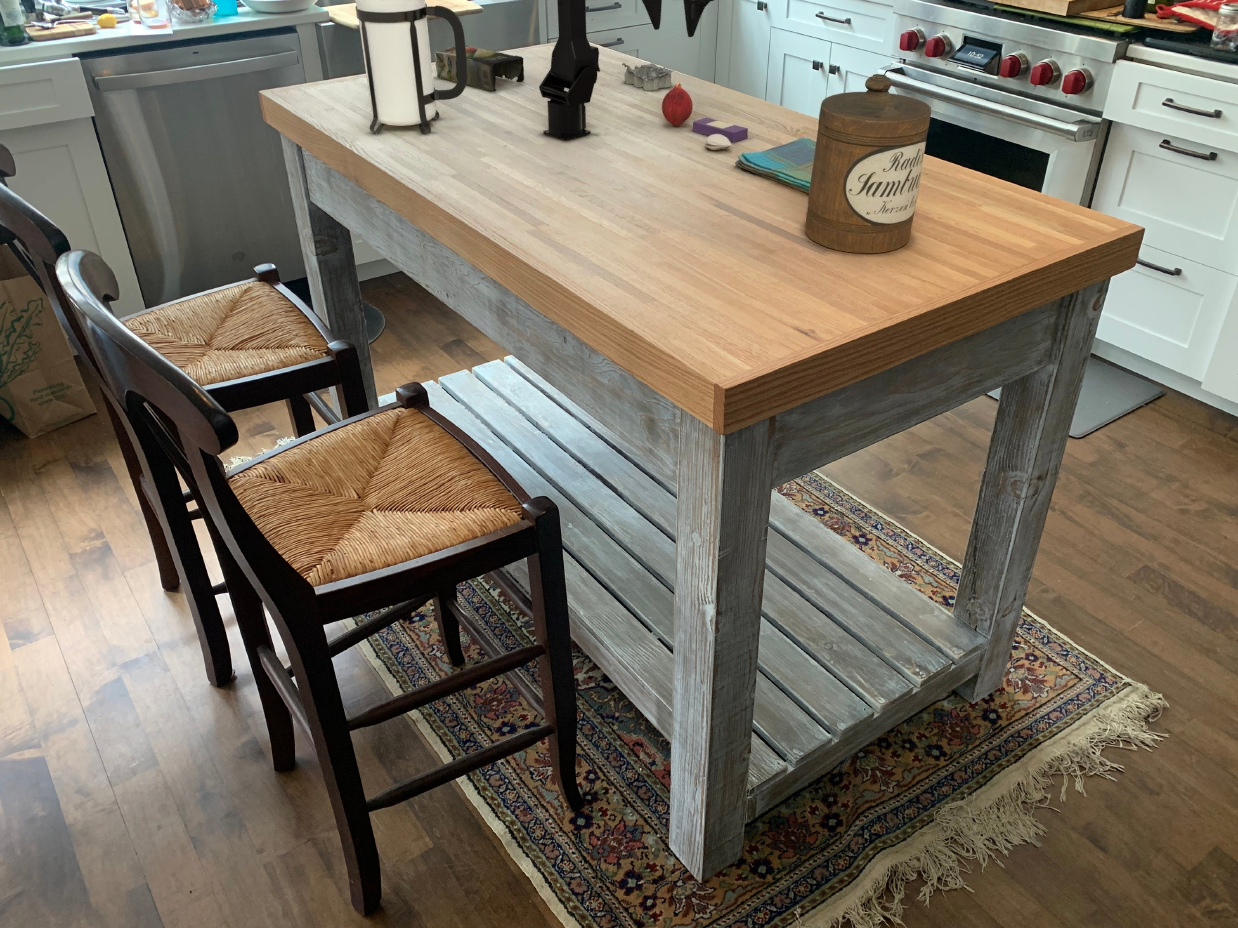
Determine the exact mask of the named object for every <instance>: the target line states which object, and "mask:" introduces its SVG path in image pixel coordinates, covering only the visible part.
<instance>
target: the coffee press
mask: <svg viewBox="0 0 1238 928" xmlns="http://www.w3.org/2000/svg"><path fill="white" fill-rule="evenodd" d="M354 1H355V4H356V5H355V13H356V18H357V19H358V24H359V25H358V26H359V32H360V40H361V46H362V54H363V60H364V68H365V76H366V84H367V89H368V90H367V91H368V97H369V104H370V110H371V115H372V120H371V123H370V125H369V131H370V132H371V133H373V134H376V135H378V134H380V133H381V131H382V130H383V128H384V127H386V126H400V127H402V126H403V127H405V126H413V125H414V126H416V127H418V129H419V131H420V132H421V134H423V135H426V134H429V133H431V132H432V128H431V125H430V123H429V121H431V120H435V121H437V120H439V118H440V116H441V115H440V112H439V111H438V109H437V107H436V106H437V104H436V101H446V100H453V99H457V98H458V97H460V96H461V95H462V94H463V92H464V91H465V89H466V87H467V85H466V84H467V59H466V47H465V46H466V40H465V39H466V37H465V31H464V26H463V24H462V22H461V20H460V18H459V16H458V15H457V14H456V13H455V11H453V10H452V9H451V8H449V7H447V6H443V5H434V6H432V5H431V6H428V4H427V3H426V0H354ZM427 16H428V17H436V18H442V19H445V20H446V21H447V22H448V24H449V25H450V27H451V28H452V31H453V37H454V47H455V49H456V60H457V72H458V81H457V82H456V84H455V86H454V87H452V88H449V89H436V88H435V86H434V85H435V84H434V75H433V66H432V56H431V45H430V35H429V27H428V26H429V25H428V18H427ZM377 123H380V124H378V126H376V125H377ZM375 127H376V129H375Z"/></svg>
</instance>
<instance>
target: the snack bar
mask: <svg viewBox="0 0 1238 928" xmlns="http://www.w3.org/2000/svg"><path fill="white" fill-rule="evenodd" d="M691 130H692V132H694V133H697V134H701V135H705V136H707V137H708V136H710V135H713V134H721V135H723V136H725V137H726V138H728V140H729V141H730V142H731V143H732V144H733V143H738V142H740V141H742V140H746V139H748V132H749V128H747V127H744V126H740V125H737V124H733V123H729V122H725V121H722V120H718V119H713V118H710V117H704V118H701V119H697V120H694V121H692V129H691Z"/></svg>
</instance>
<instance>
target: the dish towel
mask: <svg viewBox="0 0 1238 928" xmlns="http://www.w3.org/2000/svg"><path fill="white" fill-rule="evenodd" d="M815 148H816V141H815V140H813V139H811V138H806V137H800V138H798V139H796V140H794V141H793V140H792V141H790V142H787V143H784V144H781V145H778V146H775V147H771V148H768V149H765V150H762V151H756V152H741V155H738V156H737V158H738V160H736V161H735V162H734V164H735V165H736V166H737V167H738V168H741V169H743V170H746V171H748V172H751V173H753V174H756V175H759V176H761V177H764V178H767V179H769V180H772V181H775V182H777V183H780V184H782V185H786V186H788V187H791V188H793V189H796V190H800V191H801V192H804V193H807V194H809V189H810V182H811V175H812V169H813V162H814V155H815Z"/></svg>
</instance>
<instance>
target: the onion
mask: <svg viewBox="0 0 1238 928" xmlns="http://www.w3.org/2000/svg"><path fill="white" fill-rule="evenodd" d="M693 106H694V105H693V100H692V98H691V95H690V93H688V92H687V90H686V89H684V88H683V87H682V84H681V82H676V83H675V85H674V87H673V88H672V89H670V90H669V91H668V92H667V93H666V94H665V95H664V97H663V98H662V103H661V113H662V115H663V117H664V119H665V120H666V121H667V122H668V123H669V124H671V125H672V126H673V127H675V128H679V127H680V126H681V125H683V124H684V123H685V122H687V120H688V119H690V117H691V115H692V114H693V113H692V112H693V109H694V107H693Z"/></svg>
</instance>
